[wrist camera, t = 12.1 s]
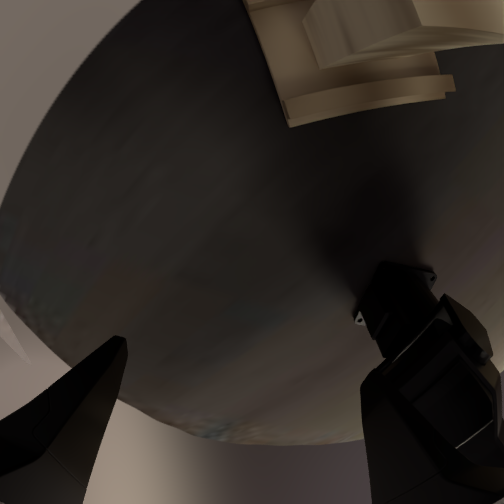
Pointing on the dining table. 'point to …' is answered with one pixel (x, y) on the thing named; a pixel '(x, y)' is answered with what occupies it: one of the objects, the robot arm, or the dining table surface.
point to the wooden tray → (335, 70)
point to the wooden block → (398, 28)
